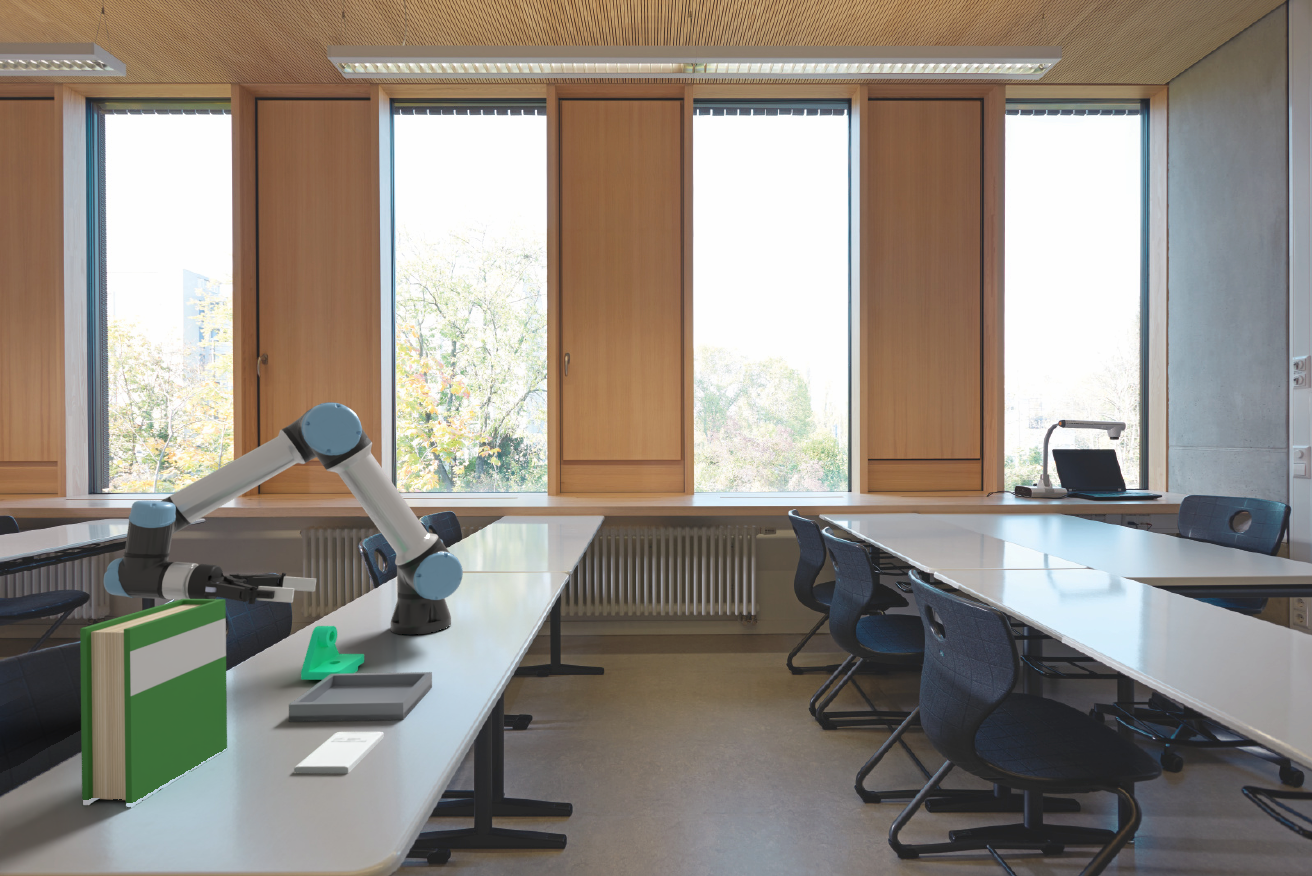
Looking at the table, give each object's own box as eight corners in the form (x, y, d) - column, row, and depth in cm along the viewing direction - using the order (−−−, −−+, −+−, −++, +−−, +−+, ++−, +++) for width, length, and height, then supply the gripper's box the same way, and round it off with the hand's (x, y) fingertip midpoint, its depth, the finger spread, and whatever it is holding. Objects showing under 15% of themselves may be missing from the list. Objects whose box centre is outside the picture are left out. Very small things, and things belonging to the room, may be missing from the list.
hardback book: (131, 808, 93) (129, 629, 93) (82, 805, 94) (80, 628, 94) (227, 749, 110) (225, 599, 111) (184, 748, 111) (182, 598, 111)
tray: (331, 689, 137) (330, 673, 137) (432, 687, 137) (431, 672, 137) (289, 721, 121) (288, 704, 121) (403, 719, 121) (403, 702, 121)
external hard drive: (293, 777, 102) (335, 740, 115) (348, 777, 102) (384, 740, 114) (293, 766, 102) (335, 731, 115) (348, 766, 102) (384, 730, 114)
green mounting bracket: (337, 685, 140) (336, 634, 140) (301, 684, 140) (300, 634, 140) (366, 665, 152) (365, 619, 152) (332, 665, 152) (331, 618, 152)
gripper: (220, 591, 154) (321, 598, 157) (158, 612, 129) (279, 620, 133) (225, 557, 154) (325, 564, 158) (165, 572, 130) (285, 580, 133)
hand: (304, 590), depth 145 cm, fingers open, 13 cm apart
